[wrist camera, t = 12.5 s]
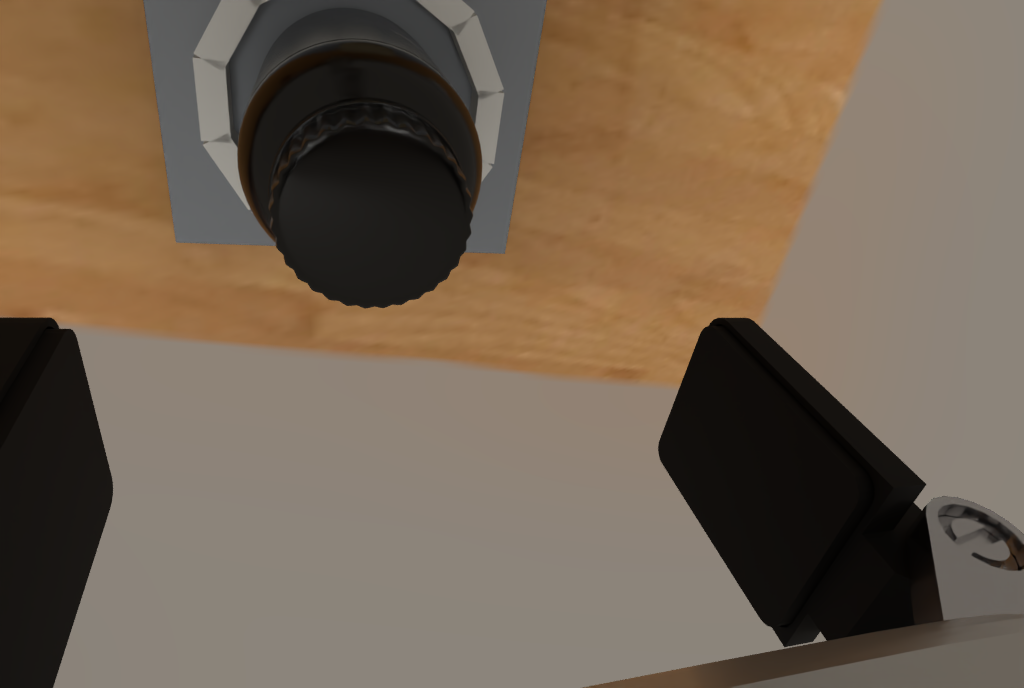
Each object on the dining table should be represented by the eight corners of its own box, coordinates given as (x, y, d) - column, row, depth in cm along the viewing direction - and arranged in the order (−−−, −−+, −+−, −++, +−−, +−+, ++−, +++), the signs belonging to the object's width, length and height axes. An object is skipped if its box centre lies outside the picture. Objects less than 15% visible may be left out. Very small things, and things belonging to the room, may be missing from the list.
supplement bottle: (456, 31, 24) (554, 113, 15) (420, 199, 27) (481, 356, 18) (263, -23, 22) (229, 34, 12) (249, 170, 25) (215, 334, 15)
